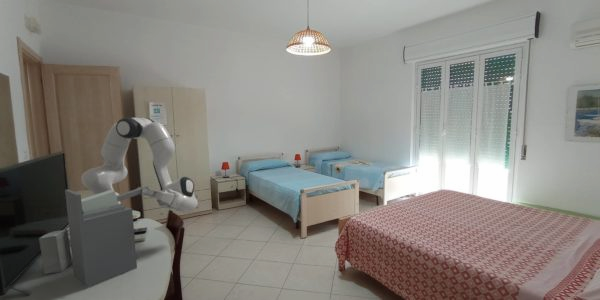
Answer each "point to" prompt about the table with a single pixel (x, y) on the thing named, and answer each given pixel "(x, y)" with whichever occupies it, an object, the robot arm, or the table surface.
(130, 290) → the table surface
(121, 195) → the pale block gray handle
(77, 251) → the caddy bay
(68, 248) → the skincare box
